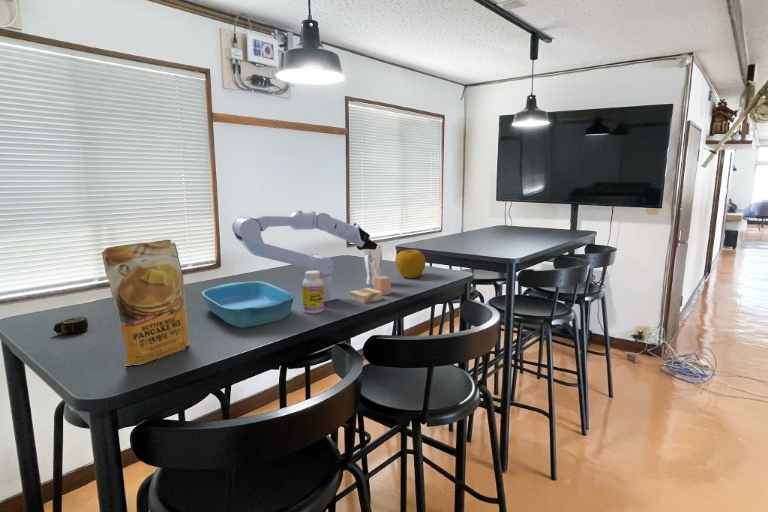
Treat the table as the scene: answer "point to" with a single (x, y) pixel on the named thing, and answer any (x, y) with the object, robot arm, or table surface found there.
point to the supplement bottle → (313, 292)
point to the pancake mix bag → (148, 299)
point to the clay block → (382, 284)
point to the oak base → (365, 295)
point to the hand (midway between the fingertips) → (372, 242)
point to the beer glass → (373, 263)
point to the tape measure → (71, 325)
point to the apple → (410, 263)
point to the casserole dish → (248, 303)
